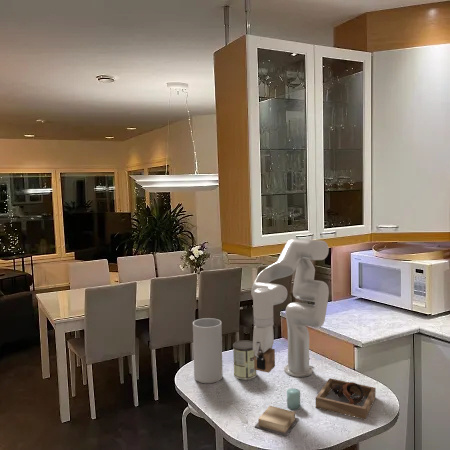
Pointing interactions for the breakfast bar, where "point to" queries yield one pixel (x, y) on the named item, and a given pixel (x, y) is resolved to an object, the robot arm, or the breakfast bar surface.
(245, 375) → the coffee can
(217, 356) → the cylinder vase
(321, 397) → the mug tray
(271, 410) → the plinth
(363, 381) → the breakfast bar surface
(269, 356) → the walnut block
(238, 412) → the butter knife
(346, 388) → the pottery mug
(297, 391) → the teal capsule
